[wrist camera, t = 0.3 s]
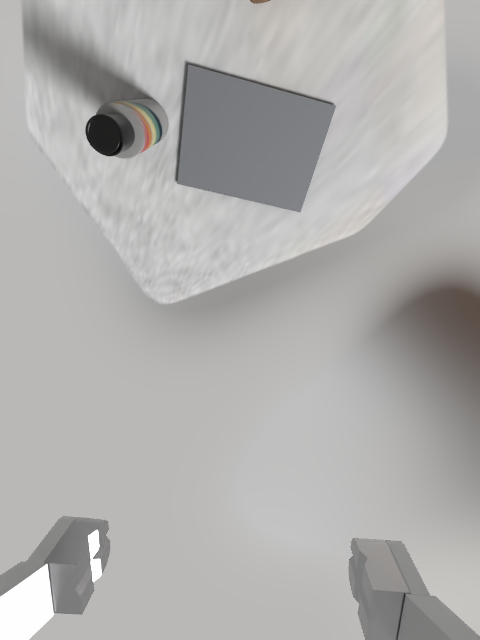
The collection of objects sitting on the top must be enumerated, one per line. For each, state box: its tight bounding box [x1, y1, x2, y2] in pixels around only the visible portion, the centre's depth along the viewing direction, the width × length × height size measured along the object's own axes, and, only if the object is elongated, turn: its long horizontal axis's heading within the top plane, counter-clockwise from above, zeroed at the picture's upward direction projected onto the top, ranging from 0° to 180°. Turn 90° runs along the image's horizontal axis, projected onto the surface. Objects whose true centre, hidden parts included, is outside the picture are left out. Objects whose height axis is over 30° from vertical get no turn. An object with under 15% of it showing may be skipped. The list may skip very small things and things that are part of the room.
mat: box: [177, 64, 336, 212], centre depth 49 cm, size 22×16×1 cm
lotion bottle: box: [86, 99, 168, 158], centre depth 39 cm, size 6×6×20 cm
